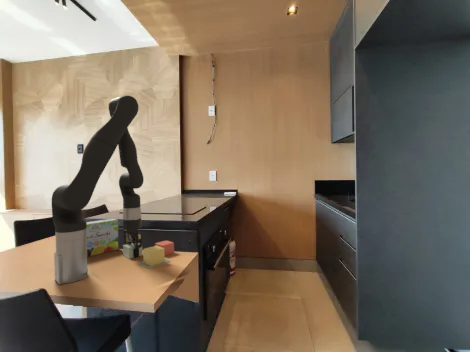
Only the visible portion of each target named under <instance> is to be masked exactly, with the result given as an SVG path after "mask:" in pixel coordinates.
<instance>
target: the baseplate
mask: <svg viewBox="0 0 470 352" xmlns="http://www.w3.org/2000/svg"><path fill="white" fill-rule="evenodd" d="M171 262H172V261H171V260H169V259H167V258H165V262H162V263H159V264H156V265H153V266H150V265H148V264H146V263H144V260H142V261H141V260H140V261H138V262H136V264H138V265H140V266H142V267H144V268H146V269H148V270H150V269H153V268H156V267H158V266H163V265H165V264H169V263H171Z"/></svg>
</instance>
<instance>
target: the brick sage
mask: <svg viewBox="0 0 470 352" xmlns="http://www.w3.org/2000/svg"><path fill="white" fill-rule="evenodd" d="M122 256H123V257H125V258H127V259H129V260H130V259H133V258H134V256H133V245H132V244H127V245H126V244H122ZM141 256H143V246H142V247H140V248H139V257H141Z"/></svg>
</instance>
